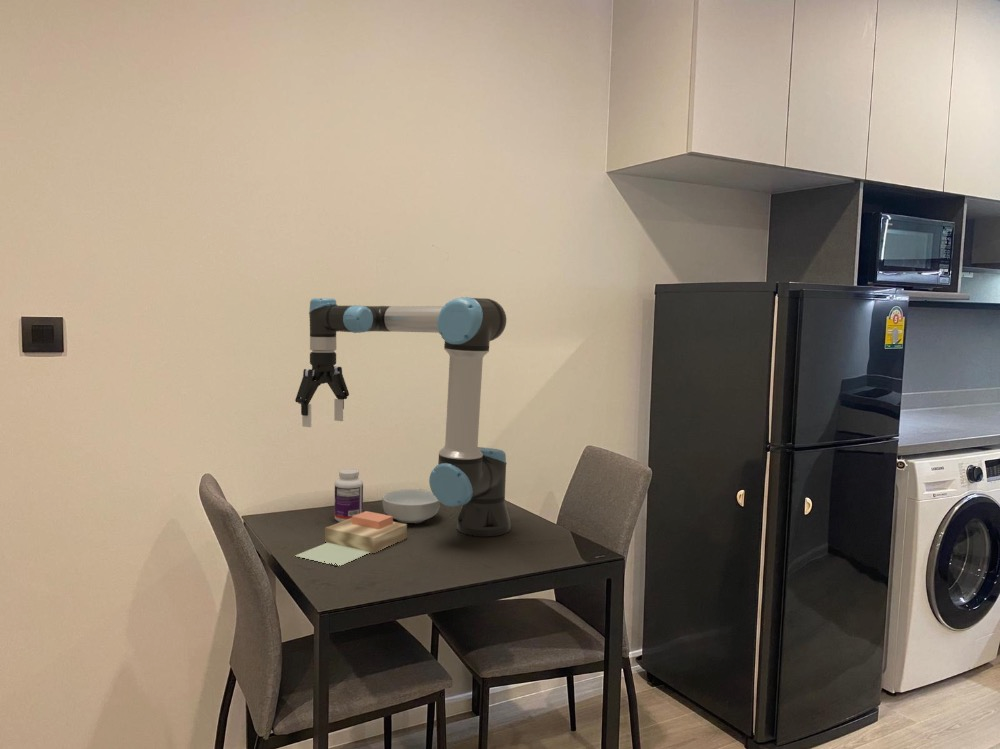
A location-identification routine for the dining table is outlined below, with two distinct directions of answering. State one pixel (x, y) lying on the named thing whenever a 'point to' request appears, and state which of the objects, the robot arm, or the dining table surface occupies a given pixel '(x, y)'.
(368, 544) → the wooden block
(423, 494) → the cereal bowl
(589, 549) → the dining table surface
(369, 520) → the pink rectangular block
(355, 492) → the pill bottle
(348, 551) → the mat
